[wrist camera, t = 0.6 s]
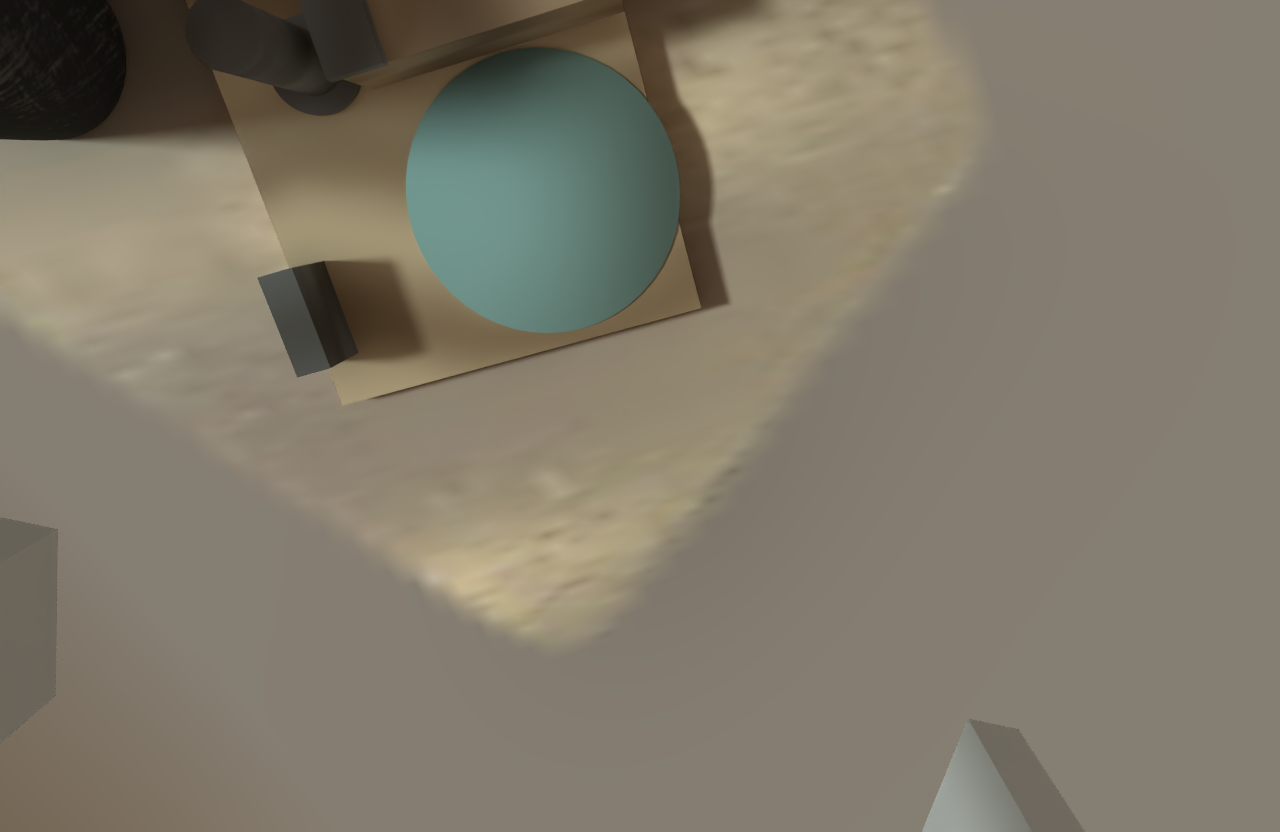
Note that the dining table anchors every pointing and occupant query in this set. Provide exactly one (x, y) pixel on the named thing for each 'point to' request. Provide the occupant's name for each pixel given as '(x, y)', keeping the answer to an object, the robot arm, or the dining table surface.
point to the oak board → (374, 205)
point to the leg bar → (431, 32)
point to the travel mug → (58, 67)
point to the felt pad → (543, 190)
